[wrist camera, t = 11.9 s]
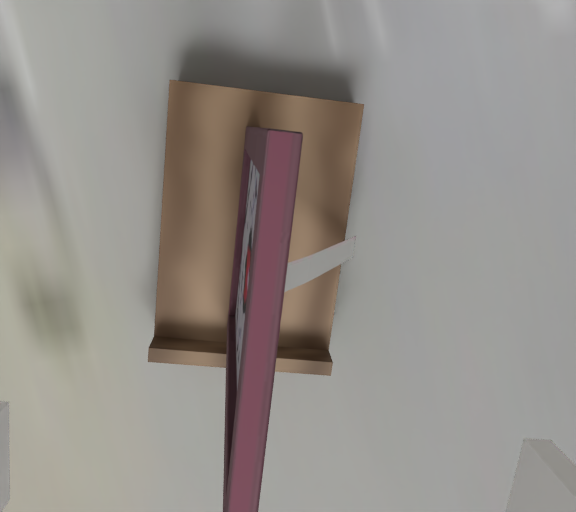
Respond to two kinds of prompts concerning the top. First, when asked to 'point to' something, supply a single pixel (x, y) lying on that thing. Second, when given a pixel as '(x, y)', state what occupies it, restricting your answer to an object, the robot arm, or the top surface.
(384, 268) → the top surface
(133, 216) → the top surface
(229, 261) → the walnut ledge
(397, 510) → the top surface
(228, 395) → the picture frame
